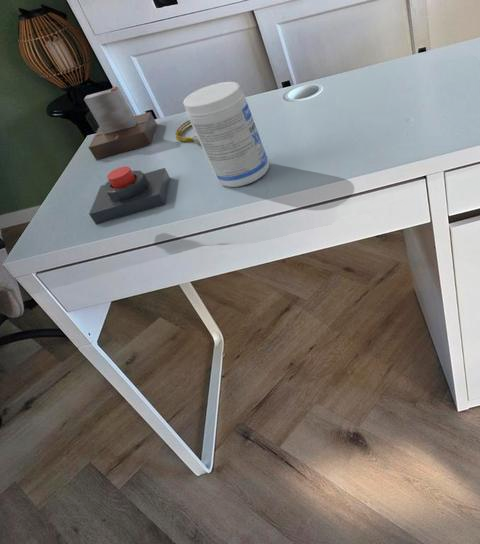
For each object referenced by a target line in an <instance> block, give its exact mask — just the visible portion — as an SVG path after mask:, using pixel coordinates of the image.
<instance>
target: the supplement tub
mask: <svg viewBox="0 0 480 544" xmlns="http://www.w3.org/2000/svg"><path fill="white" fill-rule="evenodd" d="M182 104H183V106H184V108H185V112H186V115H187V118H188V119H189V120H190V122H191V124H190V125H192V126H191V127H192V128H193V130H194V133H195V135H196V136H197V137H198V139H199V141H200V144H201V145H200V144H199V145H200V146H201V149H202V150H203V152H204V154H205V157H206V159H207V161H208V163H209V166H210V167H211V170H212V172H213V174H214V177H215V179H216V181H217V182H218V183H219V184H220V185H222V186H224V187H228V188H237V187H243V186H246V185H249V184H251V183H254V182H256V181H258V180H259V179H260V178H261V179H262V177H263V176H265V174H266V173H267V172H268V171H269V167H270V162H269V159H268V155H267V152H266V150H265V147H264V145H263V142H262V140H261V137H260V134H259V132H258V128H257V126H256V122H255V120H254V118H253V115H252V112H251V110H250V106H249V104H248V101H247V99H246V96H245V93H244V92H243V90H242V87H241V85H240V84H239V83H238V82H235V81H223V82H218V83H213V84H209V85H207V86H204V87H201V88H199V89H197V90H195V91H193V92H192V93H190V94H189V95H187V96H186V97H185V98H184V100H183V103H182Z"/></svg>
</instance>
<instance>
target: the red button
mask: <svg viewBox="0 0 480 544" xmlns="http://www.w3.org/2000/svg"><path fill="white" fill-rule="evenodd" d="M132 171H133V170H132V169H131V167H130V166H121V167H118V168H115V169H113V170H111V171H110V172H109V173H108V174H107V176H106V179H107V180H108V181H109V182H110V183H111V185H112V186H113V188H121V187H125V186H127V185H129V184H131V183H132V182H133V181H134V180H136V177H135V176H134V174H133V172H132Z"/></svg>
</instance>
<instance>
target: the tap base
mask: <svg viewBox="0 0 480 544" xmlns="http://www.w3.org/2000/svg"><path fill="white" fill-rule="evenodd" d="M133 116H134V118H135V120H136V121H137V124H136V126H134V127H131V128H127V129H123V130H120V131H116V132H112V133H109V134H105V135H104V133H103V132H102V130H101V128H100V126H99V125H98V128H97V129H96V131H95V134H94V136H93V138H92V140H91V142H90V143H89V145H88V149H89V151H90V153H91V154H92V156H93V157H94V159H95V160H96V161H97V160H101V159H105V158H109V157H111V156H116V155H119V154H123V153H127V152H129V151H133V150H137V149H141V148H144V147H148V146H151V145H152V142H153V137H154V134H155V131H156V127H157V122H156V119H155V118H154V116H153V113H152V112H151V111H149V112H145V113H141V114H137V115H133ZM126 151H127V152H126Z"/></svg>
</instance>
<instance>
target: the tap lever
mask: <svg viewBox="0 0 480 544" xmlns="http://www.w3.org/2000/svg"><path fill="white" fill-rule="evenodd" d="M83 101H84V102H85V105H86V106H87V107H88V109H89V111H90V113H91V114H92V116H93V118H94V119H95V121H96V123H97V125H98V127H99V126H100V128H101V130H102V132H103V133H104V135H105V134H109V133H112V132H116V131H120V130H123V129H127V128H131V127H134V126H136V124H137V121H136V120H135V118H134V116H135V115H134V114H133V112H132V110H131V108H130V106H129V104H128V102H127V100H126V98H125V96H124V95H123V93H122V91H121V89H120V87H119V86H117V85H116V86H112V88H109V89H106V90H102V91H99V92H95V93H91V94H87V95H86V96H85V97H84V99H83Z"/></svg>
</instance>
